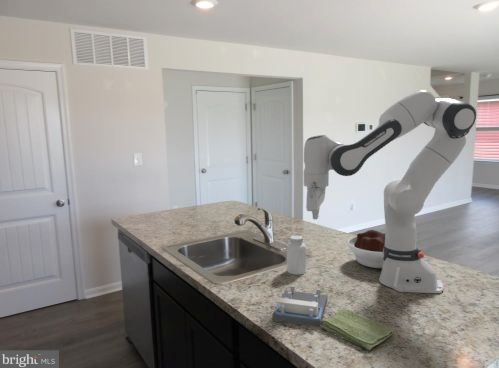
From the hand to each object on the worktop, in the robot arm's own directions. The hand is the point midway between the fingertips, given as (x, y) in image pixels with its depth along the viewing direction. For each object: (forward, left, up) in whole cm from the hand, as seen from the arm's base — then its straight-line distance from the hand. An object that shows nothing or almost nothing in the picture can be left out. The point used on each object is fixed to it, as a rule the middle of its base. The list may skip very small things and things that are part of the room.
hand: (315, 218), depth 135 cm
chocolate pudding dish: (-22, -33, -27) cm, 48 cm away
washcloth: (-16, +26, -28) cm, 41 cm away
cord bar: (+2, +22, -25) cm, 34 cm away
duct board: (+2, +17, -27) cm, 32 cm away
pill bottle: (+10, -15, -27) cm, 33 cm away
